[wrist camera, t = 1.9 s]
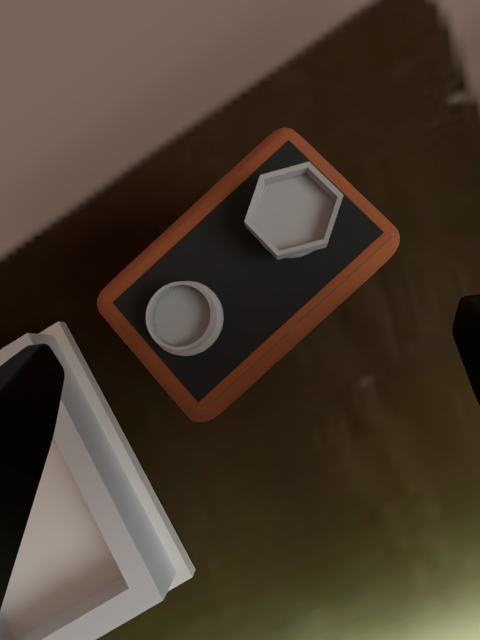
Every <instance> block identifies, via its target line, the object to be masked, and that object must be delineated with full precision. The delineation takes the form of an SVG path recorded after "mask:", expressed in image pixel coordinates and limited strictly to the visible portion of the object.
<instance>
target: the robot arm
mask: <svg viewBox="0 0 480 640" xmlns="http://www.w3.org/2000/svg"><path fill="white" fill-rule="evenodd" d="M452 331H453V337H454V340H455V343H456V345H457V348H458V351H459V354H460V356H461V359H462V362H463V364H464V367H465V370H466V372H467V375H468V378H469V381H470V383H471V386H472V389H473V391H474V394H475V396H476V398H477V401H478V403H479V405H480V294H479V295H470V296H464V297H462V298H461V300H460V302H459V304H458V308H457V312H456V316H455V319H454V323H453V328H452ZM64 379H65V373H64V369H63V366H62V365H61V363H60V362H59V360H58V359H57V357H56V355H55V354H54V352H53V351H52V349H51V348H50V346H48V345H47V344H35V345H29V346H26V347H25V348H23V349H22V350H21V351H19V352H18V353H17V354H15V355H14V356H13V357H11V358H10V359H9V360H7V361H6V362H5V363H3V364H2V365H1V366H0V610H1V607H2V603H3V600H4V597H5V594H6V590H7V587H8V584H9V581H10V577H11V574H12V571H13V568H14V564H15V561H16V558H17V554H18V551H19V548H20V545H21V541H22V538H23V535H24V532H25V528H26V525H27V522H28V519H29V515H30V512H31V509H32V505H33V502H34V499H35V496H36V492H37V489H38V486H39V483H40V479H41V476H42V473H43V470H44V466H45V463H46V460H47V456H48V453H49V450H50V447H51V443H52V439H53V435H54V431H55V426H56V421H57V416H58V410H59V405H60V400H61V395H62V389H63V384H64Z"/></svg>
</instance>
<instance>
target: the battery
mask: <svg viewBox="0 0 480 640" xmlns="http://www.w3.org/2000/svg"><path fill="white" fill-rule="evenodd" d="M399 241H400V236H399V232H398V230H397V229H396V228H395V226H394V225H393V224H392V223H391V222H390V221H389V220H388V219H386V218H385V217H384V216H383V215H382V214H381V213H380V212H379V211H378V210H377V209H376V208H375V207H374V206H373V205H372V204H371V203H370V202H369V201H368V200H367V199H366V198H365V197H364V196H363V195H362V194H360V193H359V192H358V191H357V190H356V189H355V188H354V187H353V186H352V185H351V184H350V183H349V182H348V181H347V180H346V179H345V178H344V177H343V176H342V175H341V174H340V173H339V172H338V171H337V170H335V169H334V168H333V167H332V166H331V165H330V164H329V163H328V162H327V161H326V160H325V159H324V158H323V157H322V156H321V155H320V154H319V153H318V152H317V151H316V150H315V149H314V148H313V147H312V146H311V145H309V144H308V143H307V142H306V141H305V140H304V139H303V138H302V137H301V136H300V135H299V134H298V133H297V132H295V131H294V130H292V129H290V128H280V129H278V130H276V131H274V132H273V133H271V134H270V135H269V136H268V137H267V138H265V139H264V140H263V141H262V142H261V143H260V144H259V145H258V146H257V147H256V148H254V149H253V150H252V151H251V152H250V153H249V154H248V155H247V156H246V157H245V158H244V159H243V160H241V161H240V162H239V163H238V164H237V165H236V166H235V167H234V168H233V169H232V170H231V171H230V172H228V173H227V174H226V175H225V176H224V177H223V178H222V179H221V180H220V181H219V182H218V183H217V184H215V185H214V186H213V187H212V188H211V189H210V190H209V191H208V192H207V193H206V194H205V195H204V196H202V197H201V198H200V199H199V200H198V201H197V202H196V203H195V204H194V205H193V206H192V207H191V208H189V209H188V210H187V211H186V212H185V213H184V214H183V215H182V216H181V217H180V218H179V219H178V220H176V221H175V222H174V223H173V224H172V225H171V226H170V227H169V228H168V229H167V230H166V231H165V232H163V233H162V234H161V235H160V236H159V237H158V238H157V239H156V240H155V241H154V242H153V243H152V244H150V245H149V246H148V247H147V248H146V249H145V250H144V251H143V252H142V253H141V254H140V255H139V256H137V257H136V258H135V259H134V260H133V261H132V262H131V263H130V264H129V265H128V266H127V267H126V268H124V269H123V270H122V271H121V272H120V273H119V274H118V275H117V276H116V277H115V278H114V279H113V280H112V281H111V282H110V283H109V284H108V285H107V286H106V287H105V288H104V289H103V290H102V291H101V293H100V294H99V296H98V298H97V308H98V310H99V312H100V313H101V315H102V316H103V317H104V319H105V320H106V321H107V322H108V323H109V325H110V326H111V327H112V328H113V329H114V331H115V332H116V333H117V334H118V335H119V336H120V338H121V339H122V340H123V341H124V342H125V343H126V345H127V346H128V347H129V348H130V349H131V351H132V352H133V353H134V354H135V355H136V356H137V358H138V359H139V360H140V361H141V362H142V364H143V365H144V366H145V367H146V368H147V369H148V371H149V372H150V373H151V374H152V375H153V376H154V378H155V379H156V380H157V381H158V382H159V384H160V385H161V386H162V387H163V388H164V389H165V391H166V392H167V393H168V394H169V395H170V397H171V398H172V399H173V400H174V401H175V402H176V404H177V405H178V406H179V407H180V408H181V409H182V411H183V412H184V413H185V414H186V415H187V416H188V417H189V418H190V419H191V420H193V421H195V422H206V421H209V420H211V419H213V418H215V417H216V416H218V415H219V414H220V413H221V412H223V411H224V410H225V409H226V408H227V407H228V406H230V405H231V404H232V403H233V402H234V401H235V400H236V399H237V398H238V397H239V396H241V395H242V394H243V393H244V392H245V391H246V390H247V389H248V388H249V387H250V386H252V385H253V384H254V383H255V382H256V381H257V380H258V379H259V378H260V377H261V376H262V375H264V374H265V373H266V372H267V371H268V370H269V369H270V368H271V367H272V366H273V365H274V364H276V363H277V362H278V361H279V360H280V359H281V358H282V357H283V356H284V355H285V354H286V353H288V352H289V351H290V350H291V349H292V348H293V347H294V346H295V345H296V344H297V343H299V342H300V341H301V340H302V339H303V338H304V337H305V336H306V335H307V334H308V333H309V332H311V331H312V330H313V329H314V328H315V327H316V326H317V325H318V324H319V323H320V322H321V321H323V320H324V319H325V318H326V317H327V316H328V315H329V314H330V313H331V312H332V311H333V310H335V309H336V308H337V307H338V306H339V305H340V304H341V303H342V302H343V301H344V300H346V299H347V298H348V297H349V296H350V295H351V294H352V293H353V292H354V291H355V290H356V289H358V288H359V287H360V286H361V285H362V284H363V283H364V282H365V281H366V280H367V279H368V278H370V277H371V276H372V275H373V274H374V273H375V272H376V271H377V270H378V269H379V268H380V267H381V266H383V265H384V264H385V263H386V262H387V261H388V260H389V259H390V258H391V257H392V255H393V254H394V253H395V252H396V250H397V248H398V245H399Z"/></svg>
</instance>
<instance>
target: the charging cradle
mask: <svg viewBox="0 0 480 640" xmlns="http://www.w3.org/2000/svg"><path fill="white" fill-rule="evenodd" d="M35 344H47V345H48V346H50V348H51V349H52V351H53V352H54V354H55V355H56V357H57V359H58V360H59V362H60V363H61V365H62V366H63V369H64V373H65V379H64V384H63V389H62V395H61V400H60V405H59V410H58V416H57V421H56V426H55V431H54V435H53V439H52V443H51V447H50V450H49V453H48V456H47V460H46V463H45V466H44V470H43V473H42V476H41V479H40V483H39V486H38V489H37V492H36V496H35V499H34V502H33V505H32V509H31V512H30V515H29V519H28V522H27V525H26V528H25V532H24V535H23V538H22V541H21V545H20V548H19V551H18V554H17V558H16V561H15V564H14V568H13V571H12V574H11V577H10V581H9V584H8V587H7V590H6V594H5V597H4V600H3V603H2V607H1V610H0V640H96V639H97V638H99V637H101V636H103V635H104V634H106V633H108V632H109V631H111V630H113V629H115V628H116V627H118V626H120V625H121V624H123V623H125V622H127V621H128V620H130V619H132V618H134V617H135V616H137V615H139V614H140V613H142V612H144V611H146V610H147V609H149V608H151V607H152V606H154V605H156V604H158V603H159V602H161V601H163V600H164V598H165V596H166V594H167V592H168V591H169V590H171V589H173V588H174V587H176V586H178V585H180V584H181V583H183V582H185V581H187V580H188V579H190V578H192V577H193V575H194V572H195V570H196V569H195V568H194V566H193V564H192V562H191V560H190V558H189V556H188V554H187V552H186V551H185V549H184V547H183V545H182V543H181V541H180V539H179V537H178V535H177V533H176V532H175V530H174V528H173V526H172V524H171V522H170V520H169V518H168V516H167V514H166V513H165V511H164V509H163V507H162V505H161V503H160V501H159V499H158V497H157V495H156V494H155V492H154V490H153V488H152V486H151V484H150V482H149V480H148V478H147V476H146V475H145V473H144V471H143V469H142V467H141V465H140V463H139V461H138V459H137V458H136V456H135V454H134V452H133V450H132V448H131V446H130V444H129V442H128V440H127V439H126V437H125V435H124V433H123V431H122V429H121V427H120V425H119V423H118V421H117V420H116V418H115V416H114V414H113V412H112V410H111V408H110V406H109V404H108V402H107V401H106V399H105V397H104V395H103V393H102V391H101V389H100V387H99V385H98V383H97V382H96V380H95V378H94V376H93V374H92V372H91V370H90V368H89V366H88V365H87V363H86V361H85V359H84V357H83V355H82V353H81V351H80V349H79V347H78V346H77V344H76V342H75V340H74V338H73V336H72V334H71V332H70V330H69V328H68V327H67V325H66V323H65V322H60V321H58V322H57V323H55V324H53V325H52V326H50V327H48V328H47V329H45V330H44V331H42V332H40V333H39V334H33V333H26V334H25V335H23V336H22V337H20V338H18V339H17V340H15V341H14V342H12V343H10V344H9V345H7V346H5V347H4V348H2V349H1V350H0V366H1V365H2V364H3V363H5V362H6V361H7V360H9V359H10V358H11V357H13V356H14V355H15V354H17V353H18V352H19V351H21V350H22V349H23V348H25V347H26V346H29V345H35Z"/></svg>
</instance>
